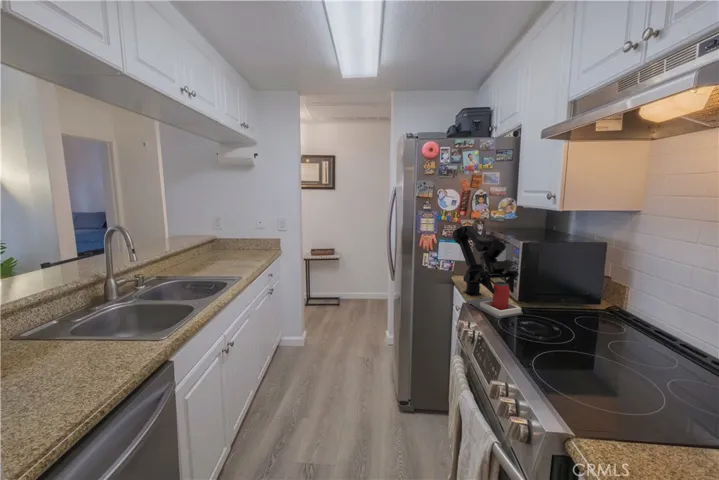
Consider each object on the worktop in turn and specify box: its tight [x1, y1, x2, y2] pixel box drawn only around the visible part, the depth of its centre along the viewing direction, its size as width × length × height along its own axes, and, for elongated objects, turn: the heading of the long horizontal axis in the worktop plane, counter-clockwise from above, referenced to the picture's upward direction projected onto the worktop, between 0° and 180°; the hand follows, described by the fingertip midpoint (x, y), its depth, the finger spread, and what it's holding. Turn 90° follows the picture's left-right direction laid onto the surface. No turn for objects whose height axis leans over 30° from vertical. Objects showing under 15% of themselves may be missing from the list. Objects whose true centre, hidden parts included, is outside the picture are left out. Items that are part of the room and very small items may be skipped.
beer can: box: [492, 281, 510, 310], centre depth 142 cm, size 7×7×12 cm
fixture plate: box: [465, 296, 524, 320], centre depth 146 cm, size 20×14×3 cm
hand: (503, 293), depth 140 cm, fingers open, 9 cm apart
